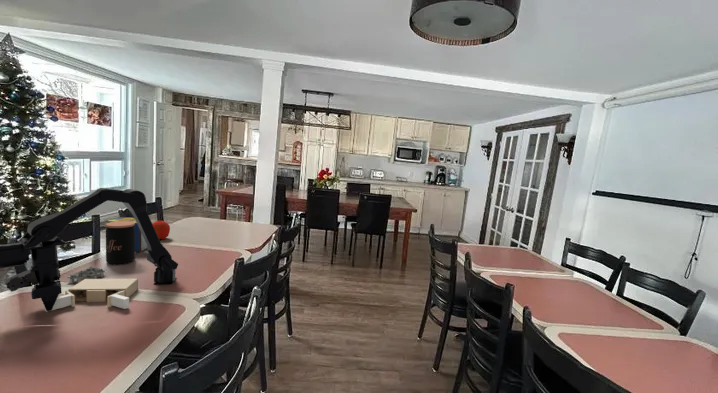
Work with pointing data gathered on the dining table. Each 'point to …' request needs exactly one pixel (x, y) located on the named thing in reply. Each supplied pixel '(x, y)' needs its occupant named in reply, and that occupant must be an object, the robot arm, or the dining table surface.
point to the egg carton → (86, 274)
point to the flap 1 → (64, 301)
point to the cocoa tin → (84, 293)
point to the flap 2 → (118, 300)
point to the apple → (161, 229)
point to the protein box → (139, 238)
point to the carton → (102, 288)
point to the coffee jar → (120, 242)
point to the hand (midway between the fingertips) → (49, 308)
